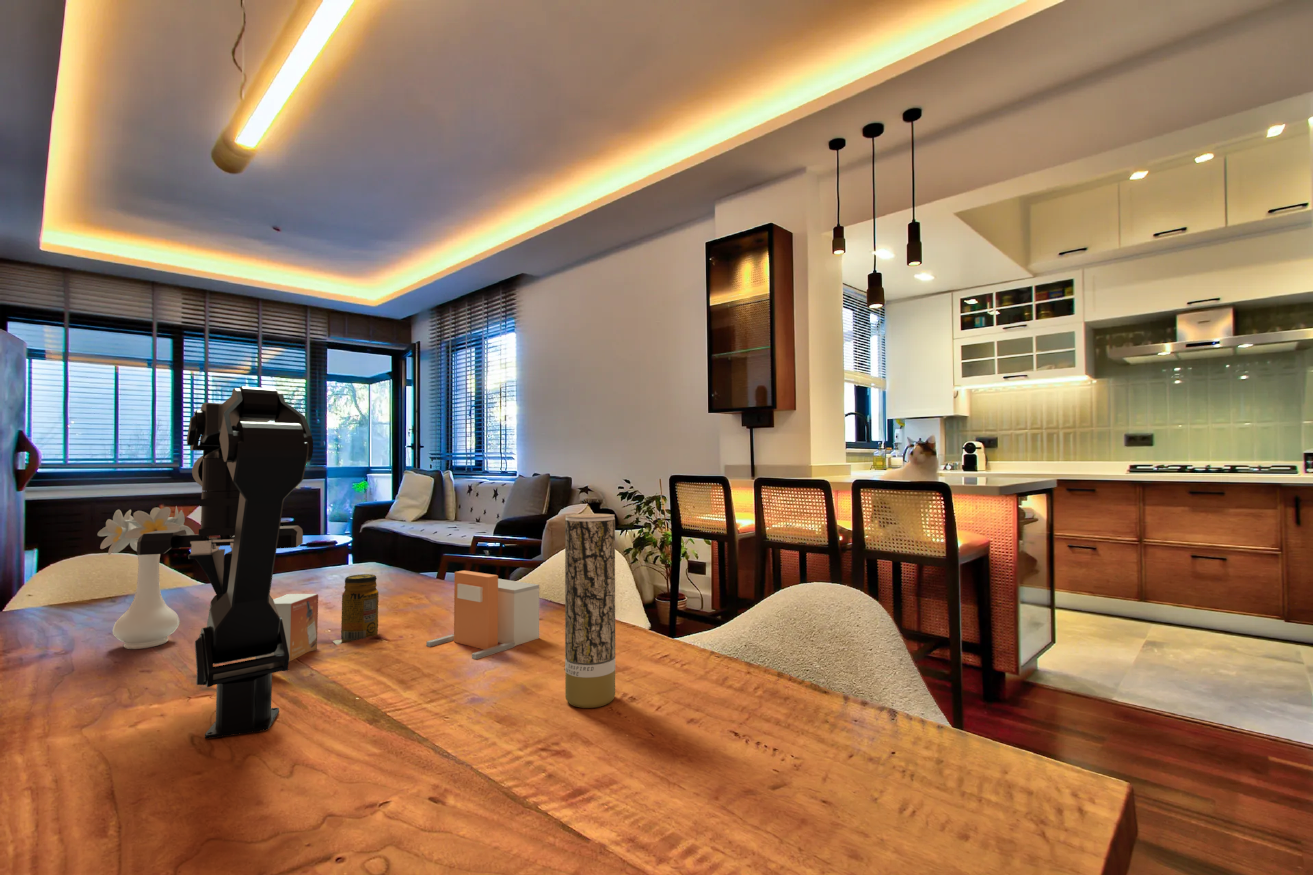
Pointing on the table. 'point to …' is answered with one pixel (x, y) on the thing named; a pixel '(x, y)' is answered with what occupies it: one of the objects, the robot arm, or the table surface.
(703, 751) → the table surface
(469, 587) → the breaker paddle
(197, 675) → the robot arm
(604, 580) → the paper tube
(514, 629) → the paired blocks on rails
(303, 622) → the small box
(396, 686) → the table surface
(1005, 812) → the table surface
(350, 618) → the condiment
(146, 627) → the flower vase
